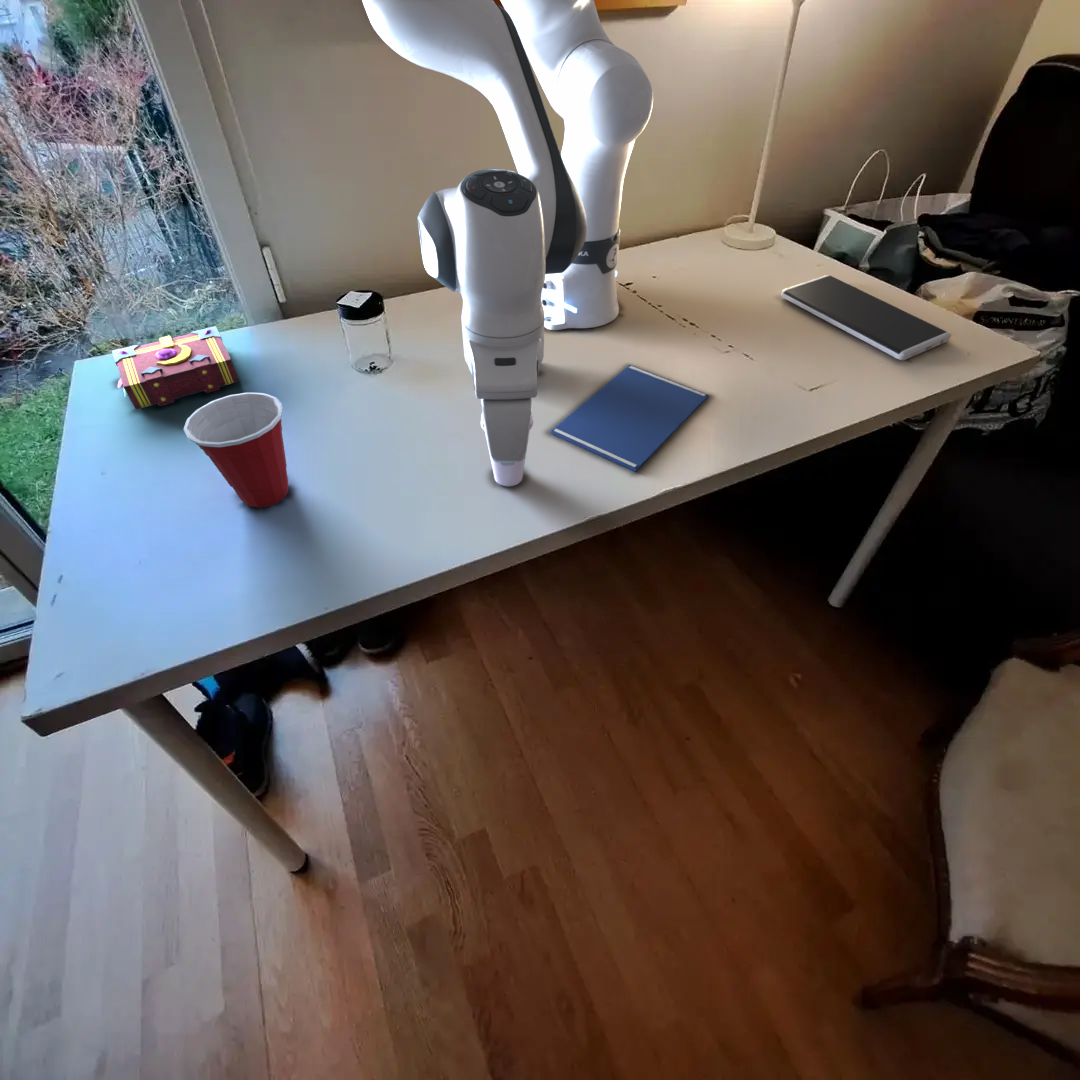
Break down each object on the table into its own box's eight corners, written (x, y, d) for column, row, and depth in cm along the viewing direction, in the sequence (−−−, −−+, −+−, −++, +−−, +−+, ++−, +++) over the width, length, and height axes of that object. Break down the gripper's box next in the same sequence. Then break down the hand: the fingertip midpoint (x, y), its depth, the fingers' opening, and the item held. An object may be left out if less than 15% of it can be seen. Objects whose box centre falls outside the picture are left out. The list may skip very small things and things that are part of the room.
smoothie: (527, 496, 81) (527, 404, 71) (478, 489, 82) (471, 396, 72) (537, 465, 85) (538, 373, 75) (490, 458, 86) (486, 367, 76)
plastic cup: (280, 453, 86) (252, 376, 78) (325, 491, 81) (300, 413, 72) (203, 492, 81) (164, 414, 72) (246, 535, 76) (209, 456, 67)
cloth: (550, 433, 90) (550, 430, 90) (629, 366, 103) (629, 363, 102) (635, 472, 85) (636, 469, 84) (708, 396, 97) (709, 394, 97)
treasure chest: (242, 384, 97) (231, 355, 94) (127, 416, 92) (111, 386, 88) (225, 351, 104) (214, 322, 100) (117, 378, 98) (101, 349, 94)
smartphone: (900, 364, 104) (905, 354, 103) (777, 297, 120) (780, 288, 118) (949, 342, 109) (954, 333, 108) (825, 281, 125) (828, 272, 123)
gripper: (474, 298, 76) (480, 396, 86) (474, 395, 62) (481, 498, 72) (527, 297, 77) (527, 394, 87) (538, 394, 63) (536, 496, 73)
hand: (506, 443), depth 80 cm, fingers closed on smoothie, 6 cm apart
